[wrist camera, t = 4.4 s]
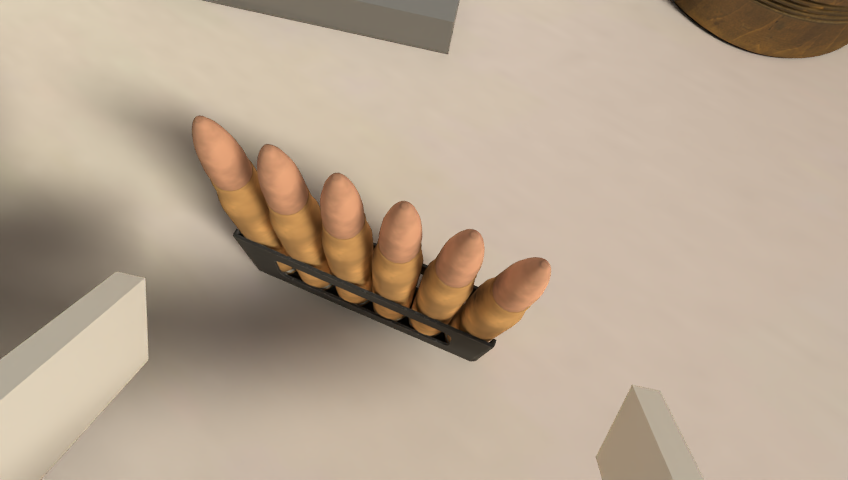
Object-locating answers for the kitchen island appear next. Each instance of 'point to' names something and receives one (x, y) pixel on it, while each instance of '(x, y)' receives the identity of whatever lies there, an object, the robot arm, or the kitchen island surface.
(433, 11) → the tray
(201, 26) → the kitchen island surface
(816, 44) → the wooden container
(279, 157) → the ammunition clip
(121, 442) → the kitchen island surface
